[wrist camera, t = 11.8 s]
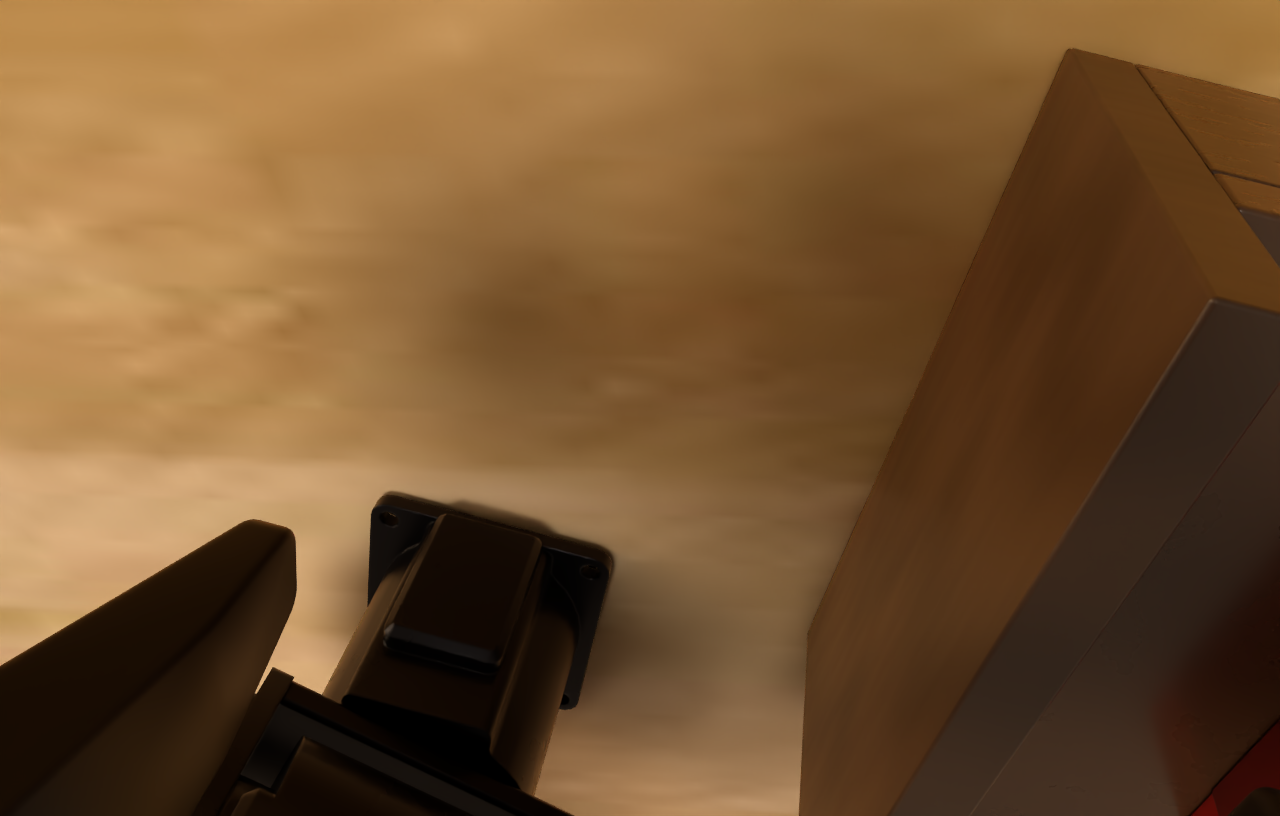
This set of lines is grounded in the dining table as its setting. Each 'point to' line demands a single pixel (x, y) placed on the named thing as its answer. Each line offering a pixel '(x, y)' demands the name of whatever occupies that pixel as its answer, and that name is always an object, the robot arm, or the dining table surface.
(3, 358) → the dining table surface
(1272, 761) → the red square bottle
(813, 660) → the shelf
